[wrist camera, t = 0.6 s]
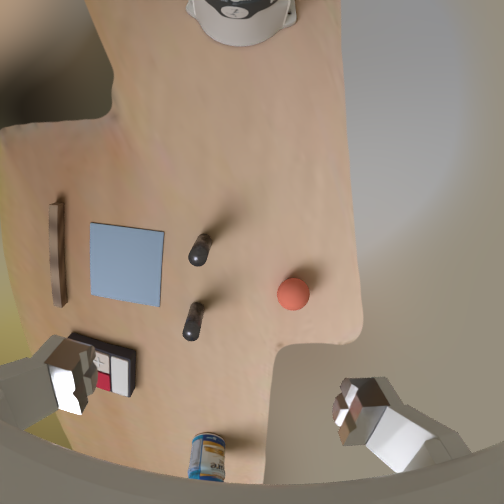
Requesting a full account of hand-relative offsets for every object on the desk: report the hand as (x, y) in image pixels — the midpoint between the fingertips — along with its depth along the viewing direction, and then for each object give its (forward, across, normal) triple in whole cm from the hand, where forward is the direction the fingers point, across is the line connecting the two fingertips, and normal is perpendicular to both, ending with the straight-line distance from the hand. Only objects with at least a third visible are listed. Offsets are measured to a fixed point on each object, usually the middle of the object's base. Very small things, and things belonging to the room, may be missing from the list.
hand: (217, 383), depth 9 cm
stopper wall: (+44, +32, +13) cm, 56 cm away
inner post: (+44, +4, +7) cm, 44 cm away
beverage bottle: (+44, -1, +57) cm, 72 cm away
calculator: (+45, +24, +36) cm, 62 cm away
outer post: (+44, +4, +19) cm, 48 cm away
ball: (+41, -12, +13) cm, 45 cm away
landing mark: (+44, +18, +13) cm, 49 cm away
